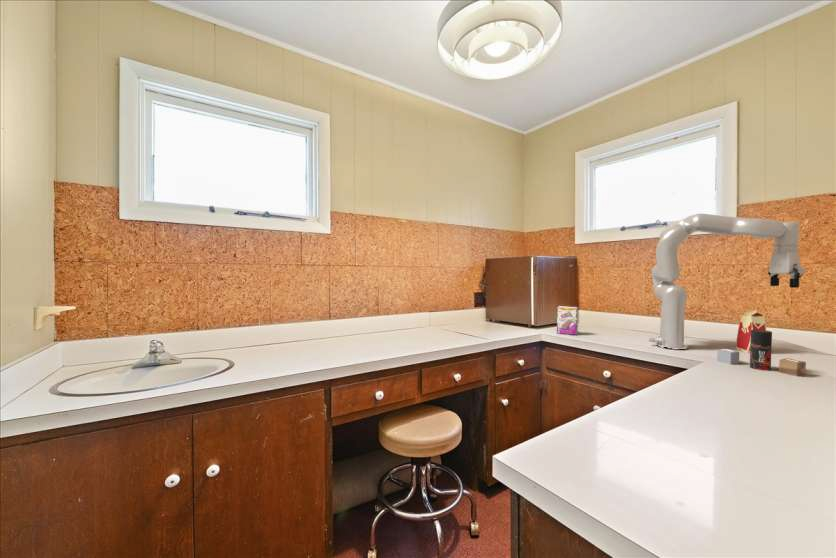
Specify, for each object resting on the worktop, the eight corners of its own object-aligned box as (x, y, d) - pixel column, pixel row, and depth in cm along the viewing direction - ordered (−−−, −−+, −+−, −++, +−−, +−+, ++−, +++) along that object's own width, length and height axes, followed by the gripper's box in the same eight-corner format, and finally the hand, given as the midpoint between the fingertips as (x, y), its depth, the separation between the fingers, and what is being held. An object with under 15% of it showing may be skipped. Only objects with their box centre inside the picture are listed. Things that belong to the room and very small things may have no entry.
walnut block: (796, 376, 125) (796, 362, 125) (779, 372, 130) (779, 359, 130) (805, 375, 127) (805, 361, 126) (787, 371, 131) (788, 358, 131)
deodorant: (764, 366, 137) (766, 330, 136) (774, 371, 131) (775, 333, 131) (746, 365, 139) (747, 329, 138) (755, 369, 133) (756, 332, 132)
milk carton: (771, 353, 156) (772, 310, 155) (747, 352, 158) (748, 310, 157) (755, 348, 165) (757, 308, 164) (733, 348, 166) (734, 307, 166)
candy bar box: (556, 333, 204) (556, 306, 203) (558, 332, 208) (558, 305, 208) (576, 335, 198) (577, 308, 197) (577, 334, 202) (578, 307, 202)
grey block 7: (730, 364, 140) (730, 352, 140) (717, 361, 145) (717, 349, 145) (739, 363, 142) (739, 351, 142) (725, 360, 147) (725, 348, 146)
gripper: (760, 250, 163) (758, 285, 164) (794, 248, 146) (792, 288, 147) (777, 249, 162) (776, 285, 163) (814, 248, 145) (812, 288, 146)
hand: (783, 286), depth 155 cm, fingers open, 9 cm apart
